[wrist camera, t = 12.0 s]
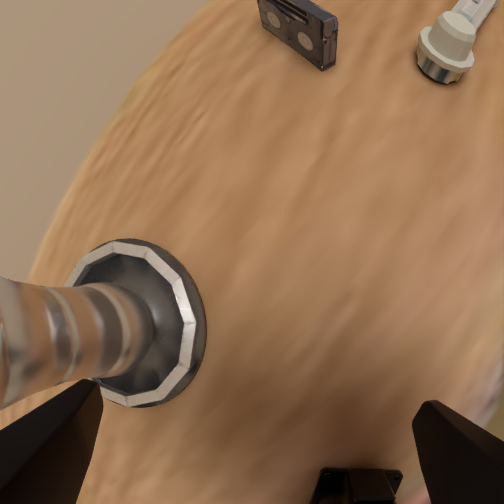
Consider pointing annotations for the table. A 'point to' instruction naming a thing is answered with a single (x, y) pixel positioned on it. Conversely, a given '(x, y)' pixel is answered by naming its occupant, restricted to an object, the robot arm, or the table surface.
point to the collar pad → (162, 315)
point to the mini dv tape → (302, 28)
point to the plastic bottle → (67, 335)
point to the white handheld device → (452, 40)
